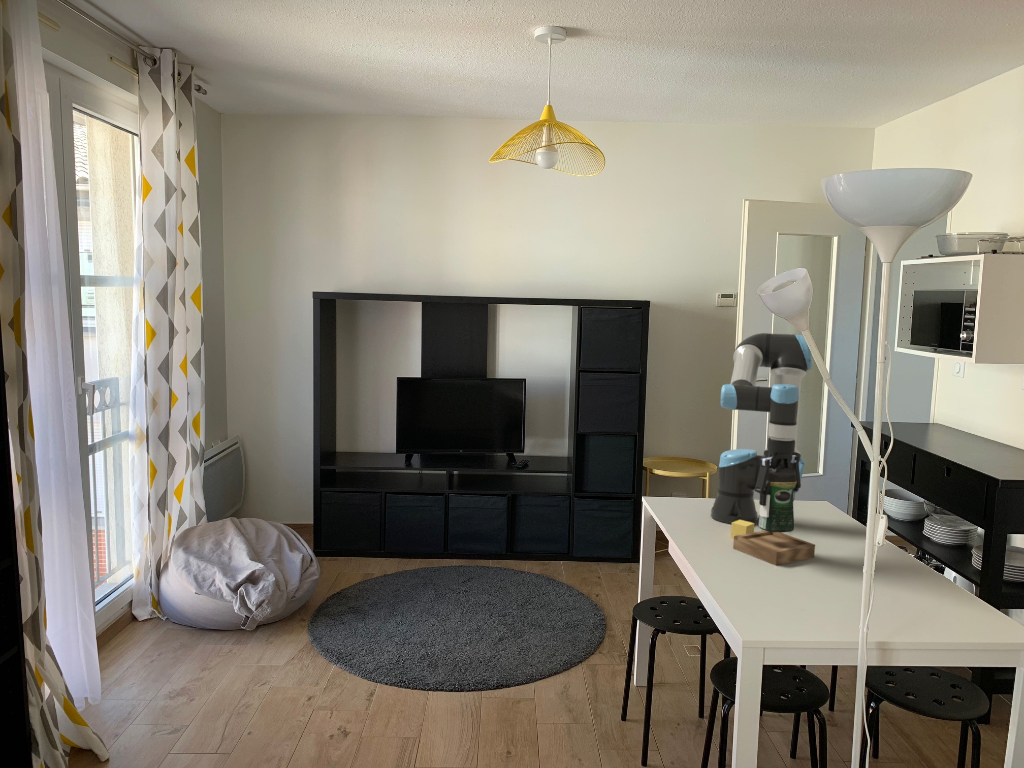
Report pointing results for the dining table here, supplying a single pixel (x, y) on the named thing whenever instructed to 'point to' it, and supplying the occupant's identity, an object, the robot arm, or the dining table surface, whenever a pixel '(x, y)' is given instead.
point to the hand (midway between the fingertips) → (776, 514)
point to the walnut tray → (774, 547)
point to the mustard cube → (741, 528)
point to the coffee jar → (780, 501)
